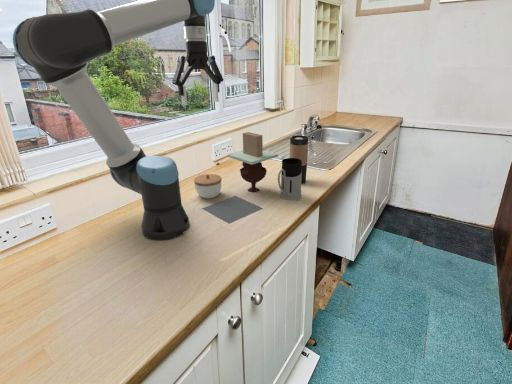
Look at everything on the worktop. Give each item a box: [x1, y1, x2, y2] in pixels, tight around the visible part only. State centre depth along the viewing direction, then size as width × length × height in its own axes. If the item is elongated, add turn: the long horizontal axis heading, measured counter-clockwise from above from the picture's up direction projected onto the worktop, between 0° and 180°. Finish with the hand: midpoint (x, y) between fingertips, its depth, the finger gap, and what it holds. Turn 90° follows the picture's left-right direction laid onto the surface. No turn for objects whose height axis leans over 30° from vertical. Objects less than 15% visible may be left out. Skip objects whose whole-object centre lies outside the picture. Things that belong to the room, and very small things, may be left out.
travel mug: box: [289, 134, 309, 185], centre depth 136 cm, size 8×8×20 cm
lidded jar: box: [193, 173, 222, 200], centre depth 125 cm, size 11×11×9 cm
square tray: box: [201, 195, 264, 224], centre depth 115 cm, size 16×16×1 cm
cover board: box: [227, 131, 279, 165], centre depth 123 cm, size 14×14×9 cm
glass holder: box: [277, 157, 303, 202], centre depth 120 cm, size 9×14×15 cm, turn 146°
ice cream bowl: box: [239, 162, 267, 194], centre depth 128 cm, size 11×11×15 cm
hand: (200, 103), depth 119 cm, fingers open, 13 cm apart
